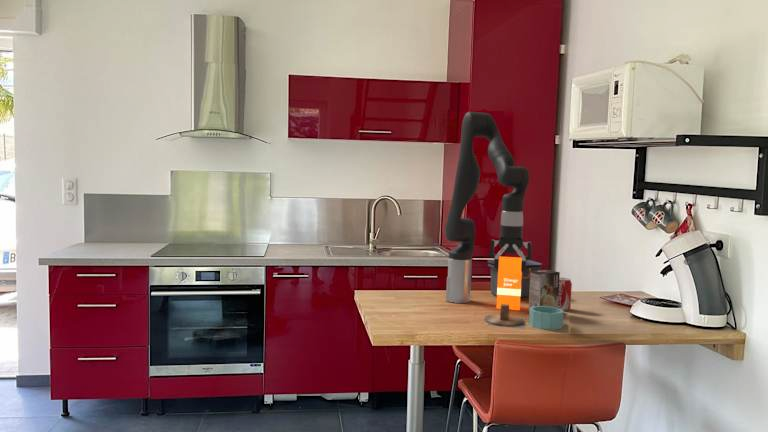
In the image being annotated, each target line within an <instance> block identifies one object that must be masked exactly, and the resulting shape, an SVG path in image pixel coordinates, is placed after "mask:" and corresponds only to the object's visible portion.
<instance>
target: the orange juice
mask: <svg viewBox="0 0 768 432" xmlns="http://www.w3.org/2000/svg"><path fill="white" fill-rule="evenodd" d="M498 259H499V269H498V285H497V296H496V308H495V309H499V310H501V304H508V305H509V311H510V310H513V311H520V309H521V297H520V296H521V275H522V272H521V263H522V259H521V257H516V256H513V257H512V256H502V255H500V257H499V258H498Z"/></svg>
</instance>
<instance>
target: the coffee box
mask: <svg viewBox="0 0 768 432" xmlns="http://www.w3.org/2000/svg"><path fill="white" fill-rule="evenodd" d="M560 274H561V273H560V271H556V270H550V269H538V271H530V290H529V297H528V312H530V307H533V306H551V307H556V308H558V301H559V278H561V277H560Z"/></svg>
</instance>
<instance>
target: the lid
mask: <svg viewBox="0 0 768 432" xmlns="http://www.w3.org/2000/svg"><path fill="white" fill-rule="evenodd" d="M521 318H522V317H518V316H516V315H510V309H509V305H508V304H501V309H500V313H499V314H490V316H487V317H486V322H488V323H490V324H493V325H498V326H497V327H501V326H519V325H522V324H523V319H521Z"/></svg>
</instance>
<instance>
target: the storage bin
mask: <svg viewBox="0 0 768 432" xmlns="http://www.w3.org/2000/svg"><path fill="white" fill-rule="evenodd" d="M487 263H488V264H487V267H489V268H490V291H491V292H490V293H491V295H494V296H496V297H497V285H498V270H496V268H494V259H493V260H492V259H491V260H490V259H489V260H487ZM542 265H543V263H541V262H538V261H534V260H532V259H530V260H527V261H526V268H525V270H523V272H522V275H521V296H520V298H525V297H526V298H527V297H528V298H529V290H530V271H538V270H542V267H541V266H542ZM498 269H499V268H498Z"/></svg>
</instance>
